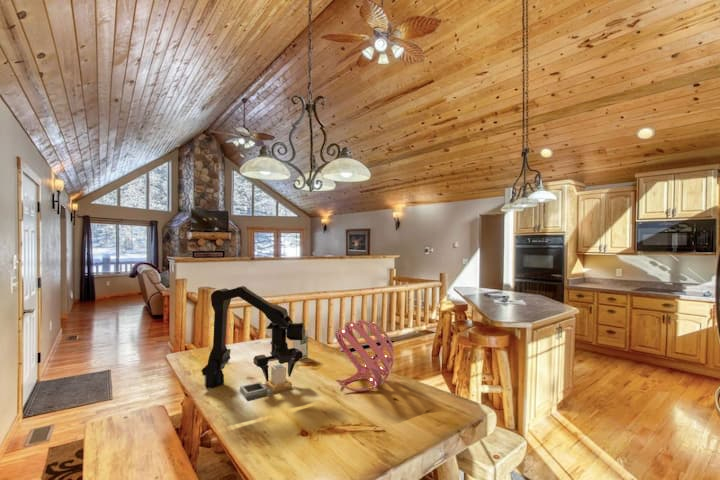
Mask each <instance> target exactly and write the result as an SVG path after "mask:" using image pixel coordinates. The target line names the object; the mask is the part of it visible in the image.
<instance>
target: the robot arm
mask: <svg viewBox="0 0 720 480" xmlns="http://www.w3.org/2000/svg"><path fill="white" fill-rule="evenodd" d="M235 298H240V299H241V300H244V301H245V302H247V303H248V305H250V306H253V307H254V308H255V309H258V310H259V311H260V312H261V313H263V314H264V315H265V317H266V319H268V321H270V323H269V325H268V326H266V329H267V330H271V341H270V346H271V351H270V352H269V353H270V356H266V355H265V354H259V355H255V356H254V357H253V364H254V365H255V366H256V367H257V368H259V369H261V370H262V373H263V376H264V379H265V381H267V382H268V380H269V368H270V367H269V366H270V365H268V364H269V363H270V362H273V361H278V363H279V365H281V364H282V365H284V364H286V363H287V375H288V378H289V377H291V376H292V373H293V370H294V367H295V366H296V364H297V362H300V361H301V360H303V359H302V358H303V353H302V352H301V351H300V350H298V349H295V348H292V347H291V348H289V346H288V343H287V340H289V341H292V340H304V339H305V329H306V328H305V322H293V320H292V319H291V317H290V316H289V315H288V314H289V313H288V310H287V309H286V308H285V307H283V306H280V305H278V304H275V303H270V302H269V301H268V300H266V299H264V298H263V297H261V296H259V295H258V294H257V293H255V292H254V291H252V290H250V289H249V288H247V286H245V285H241V286H238V287H236V288H235V287H234V288H231V289H228V288H220V289H217V290H214V291H213V292H212V293H211V295H210V303H211V307H212V309H213V311H214V317H213V337H212V339H213V340H212V349H211V351H210V353H209V355H208V359H207V364H206V365H205V366H204V367H203V368H202V369H201V374H202V376H204V387H205V388H206V389H207V388H217V387H220V386H222V385H224V383H225V374H224V373H223V369H224V368H225V366H226V365H227V364H229V361H230V360H231V348H229V349H228V348H227V345H226V339H227V338H226V337H227V317H228V309H229V308H230V305H231V301H232V299H235ZM300 359H301V360H300Z"/></svg>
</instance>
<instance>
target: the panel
mask: <svg viewBox="0 0 720 480" xmlns="http://www.w3.org/2000/svg"><path fill="white" fill-rule="evenodd" d="M238 391H239V392H240V394H241V395H242V396H243V397H244V399H245V400H246V401H247V402H250V401H255V400H258V399H263V398H266V397H270V396H274V395H275V396H276V395H279V394H282V393H283V394H284V393H287V392H290V391H291V392H292V391H294V388H293V382H292V381H290V380H289V379H287V378H286V383H285V384H281V385H276V386H273V385H272V384H271V379H268V382H267V381H266V380H265V383H262V382H261V381H259V382H254V383H249V384H246V385H242V386H239V389H238Z"/></svg>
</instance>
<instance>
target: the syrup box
mask: <svg viewBox="0 0 720 480" xmlns="http://www.w3.org/2000/svg"><path fill="white" fill-rule="evenodd" d="M308 339H309V338H308V329H307V328H305V339H304V340H291V345H292V346H291V348H295V349H298V350H300V351H301V352H302V353H303V358H302V359H300V360H299V361H301V360H303V359H306V358H308V357H309V354H308V352H309V351H308V350H309V349H308V347H309V346H308V342H309V341H308Z"/></svg>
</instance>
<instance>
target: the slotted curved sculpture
mask: <svg viewBox="0 0 720 480" xmlns="http://www.w3.org/2000/svg"><path fill="white" fill-rule="evenodd" d="M364 325H365V326H366V327H367V328H368V329H369V330H370V331H371V333H372V335H373V337H375V339H376V340H377V342H379V344H380V346H379V345H378V344H377V343H376V342H375V340H374V339H373V338H372V336H370V334H369V333H368V332H367V331H366V330H365V327H364ZM352 329H353V330H354V331H356V333H358V335H360V336H361V337H362V338H363V339H364V341H365V343H366V344H367V345H368V346H369V348H370V349H371V350H372V351H373V352H374V355H373V356H370V354H369V353H368V352H367V351H366V349H365V348H364V347H363V346H362V344H361V343H360V341H359V340H358V339H357V337H356V335H355V334H354V332H353V330H352ZM378 330H379V331H380V332H379V331H378ZM382 334H383V335H382ZM334 337H335V339H336V341H337V343H338V345H339V347H340V349H342V351H343V353H344V354H345V355H346V357H347V358H348V359H349V361H350V362H351V363H352V364H353V365H354V367H355V368H356V369H357V372H356V373H355V374H353V375H352V376H350V377H348V378H345V379H336V380H335V381H336V382H337V383H338V384H339V385H340V386H341V387H343V389H346V390H349V391H351V392H352V391H353V392H360V393H363V392H369V391H371V390H375V389H376V388H378V387H379V386H381V385H382V384H383V383H384V382H385V381H386V380H387V379H388V377H389V376H390V374H391V372H392V370H393V367H394V361H395V351H394V344H393V342H392V339H391V338H390V336H389V335H388V334H387V333H386V331H385V330H384V329H383V328H382V327H381V326H380V325H379V324H377V323H375V322H373V321H367V320H364V319H358V320H357V319H356V322H354V321H347V322H346V323H344V328H342V327H338V328H337V329H336V330H335V331H334ZM386 339H387V340H386ZM345 340H346V341H347V342H348V344H349V345H350V346H351V347H352V348H353V349H354V350H355V352H356V353H357V354H358V355H359V356H360V358H361V359H362V361H364V363H365V365H362V364H361V363H360V361H359V360H358V359H357V358H356V357H355V355H354V354H353V353H352V351H351V350H350V349H349V347H348V345H347V344H346V342H345ZM384 348H385V349H386V351H387V352H388V354H389V356H388V355H387V354H385V353H384V351H383V350H384ZM378 360H380V362H381V363H382V365H383V367H384V368H383V367H382V365H379V363H378ZM370 371H371V373H372V375H371V373H370ZM382 376H383V377H382ZM361 377H363V378H365V379H366V380H367V381H369V383H371V385H372V386H371V387H367V388H354V387H350V386H347V385H345V384H348V383H351V382H354V381H357V380H358V379H359V378H361Z"/></svg>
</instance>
